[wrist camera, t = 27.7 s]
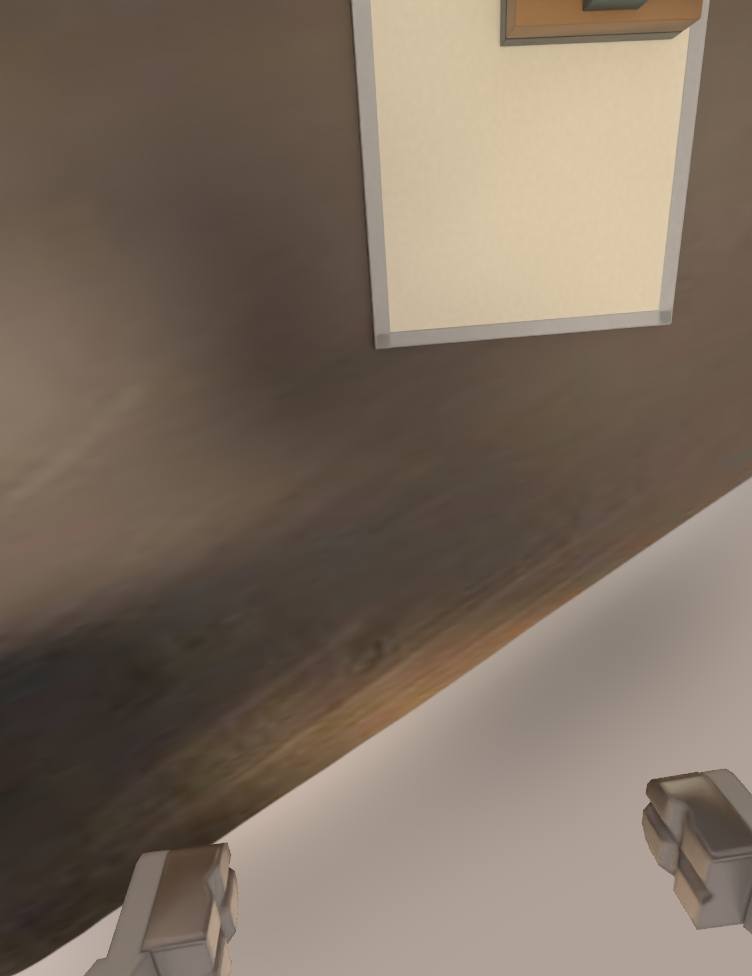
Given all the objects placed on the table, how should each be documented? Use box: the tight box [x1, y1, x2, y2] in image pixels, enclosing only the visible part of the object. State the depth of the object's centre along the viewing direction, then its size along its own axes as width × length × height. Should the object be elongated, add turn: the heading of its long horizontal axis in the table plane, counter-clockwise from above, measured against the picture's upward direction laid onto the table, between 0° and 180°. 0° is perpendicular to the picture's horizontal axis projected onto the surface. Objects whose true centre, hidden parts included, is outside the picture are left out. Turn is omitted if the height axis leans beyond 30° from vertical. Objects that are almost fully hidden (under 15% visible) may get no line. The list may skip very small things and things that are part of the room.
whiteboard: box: [350, 0, 710, 349], centre depth 32 cm, size 23×20×1 cm
